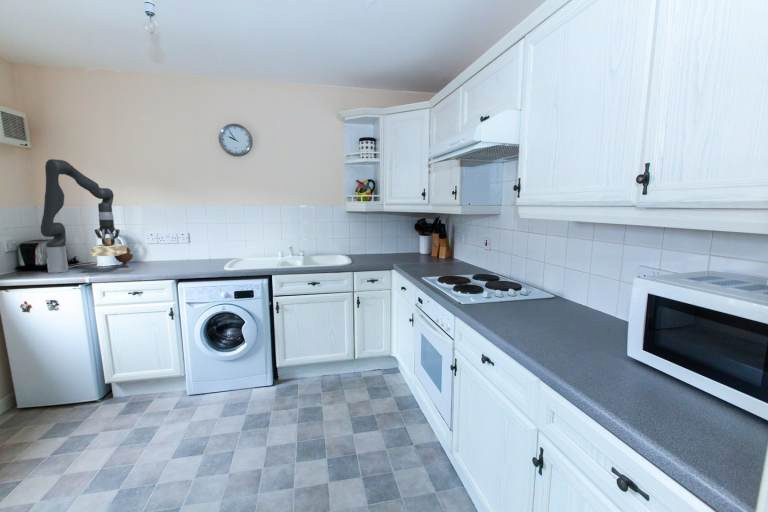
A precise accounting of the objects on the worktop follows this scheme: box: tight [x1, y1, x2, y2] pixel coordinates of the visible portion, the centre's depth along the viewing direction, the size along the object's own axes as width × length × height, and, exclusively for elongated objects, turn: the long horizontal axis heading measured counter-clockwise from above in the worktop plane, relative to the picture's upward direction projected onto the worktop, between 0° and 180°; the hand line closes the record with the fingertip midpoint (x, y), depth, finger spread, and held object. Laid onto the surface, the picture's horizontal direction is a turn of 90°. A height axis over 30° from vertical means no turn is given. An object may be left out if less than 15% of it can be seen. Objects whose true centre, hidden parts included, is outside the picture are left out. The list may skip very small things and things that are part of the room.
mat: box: [85, 268, 137, 276], centre depth 233 cm, size 24×15×1 cm, turn 107°
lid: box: [89, 237, 128, 257], centre depth 231 cm, size 15×15×11 cm
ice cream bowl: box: [114, 246, 134, 269], centre depth 250 cm, size 11×11×15 cm
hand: (108, 244), depth 231 cm, fingers closed on lid, 4 cm apart
